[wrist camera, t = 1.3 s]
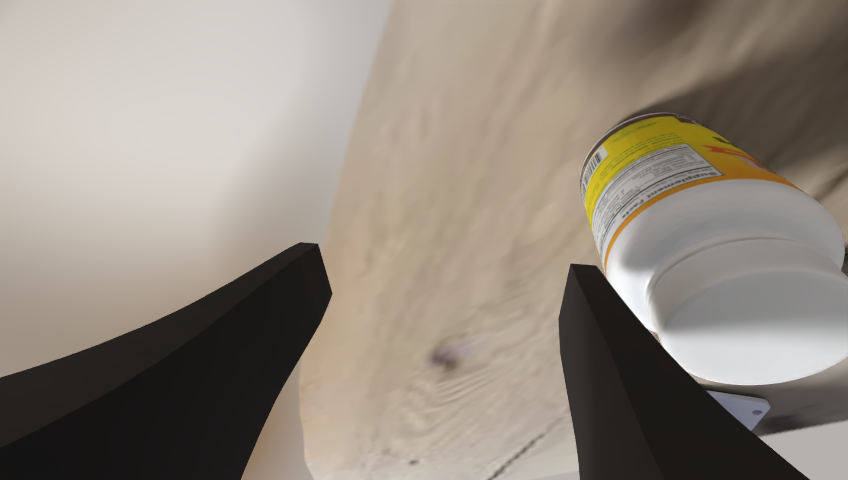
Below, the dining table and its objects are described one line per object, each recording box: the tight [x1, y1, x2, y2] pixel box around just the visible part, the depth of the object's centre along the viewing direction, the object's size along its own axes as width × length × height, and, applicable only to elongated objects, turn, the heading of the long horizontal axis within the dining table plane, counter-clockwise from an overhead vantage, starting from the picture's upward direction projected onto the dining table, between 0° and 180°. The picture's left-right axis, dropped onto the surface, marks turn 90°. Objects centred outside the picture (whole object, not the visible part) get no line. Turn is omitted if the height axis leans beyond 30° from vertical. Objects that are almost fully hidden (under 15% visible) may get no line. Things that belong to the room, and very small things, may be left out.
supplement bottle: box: [580, 113, 848, 385], centre depth 12 cm, size 6×6×10 cm
